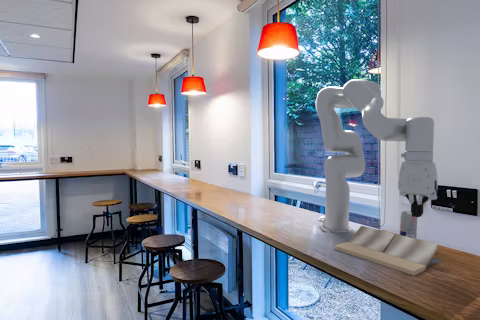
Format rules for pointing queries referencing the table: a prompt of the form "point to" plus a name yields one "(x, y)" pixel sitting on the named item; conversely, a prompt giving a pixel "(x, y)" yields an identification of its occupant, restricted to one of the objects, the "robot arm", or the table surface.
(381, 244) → the beige wavy flat plate
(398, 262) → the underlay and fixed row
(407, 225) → the energy drink
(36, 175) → the table surface
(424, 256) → the cream wavy panel
